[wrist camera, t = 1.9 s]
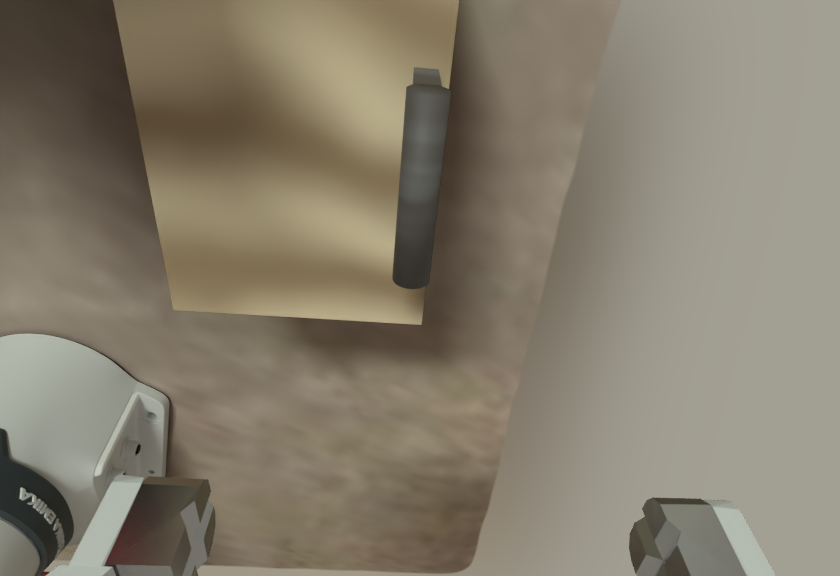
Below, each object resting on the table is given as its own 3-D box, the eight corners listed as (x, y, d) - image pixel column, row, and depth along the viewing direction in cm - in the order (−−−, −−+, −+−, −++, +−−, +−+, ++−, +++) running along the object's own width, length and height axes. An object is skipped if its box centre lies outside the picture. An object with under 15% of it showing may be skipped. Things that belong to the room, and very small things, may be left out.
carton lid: (421, 318, 30) (423, 377, 26) (177, 303, 29) (142, 362, 26) (466, -78, 20) (480, -75, 16) (98, -118, 19) (21, -125, 16)
